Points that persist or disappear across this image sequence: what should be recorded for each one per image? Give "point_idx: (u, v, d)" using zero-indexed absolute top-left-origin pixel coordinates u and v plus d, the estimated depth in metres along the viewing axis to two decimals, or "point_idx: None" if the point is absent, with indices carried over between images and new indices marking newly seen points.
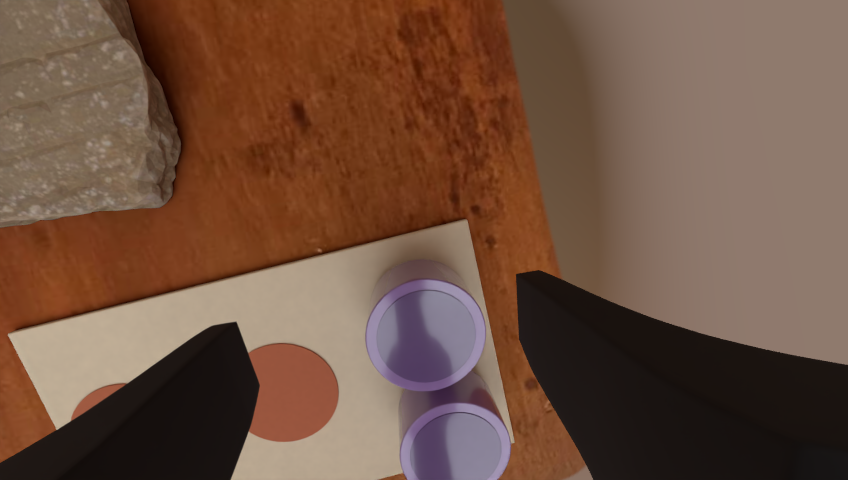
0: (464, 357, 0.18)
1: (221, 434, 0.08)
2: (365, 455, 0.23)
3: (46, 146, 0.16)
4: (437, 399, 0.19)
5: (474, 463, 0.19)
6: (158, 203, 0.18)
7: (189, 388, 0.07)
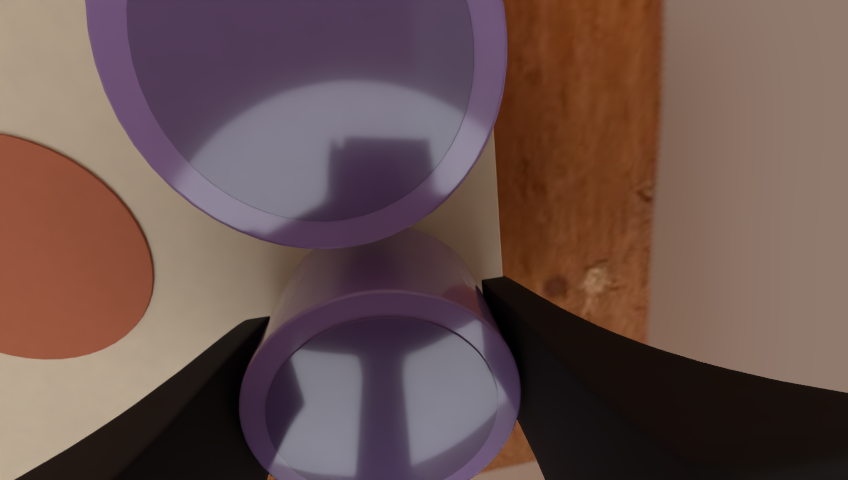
0: (430, 152, 0.06)
1: None
2: None
3: None
4: (347, 280, 0.07)
5: (428, 439, 0.08)
6: None
7: (232, 380, 0.07)
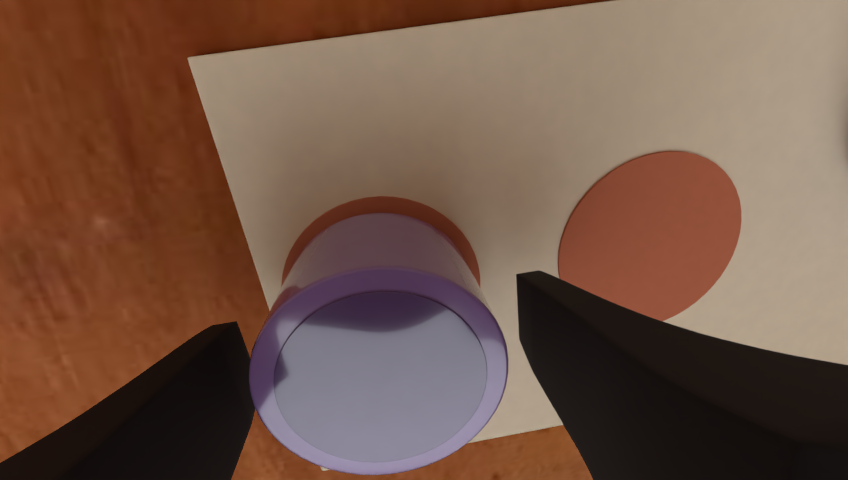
0: None
1: (221, 434, 0.08)
2: None
3: None
4: (348, 259, 0.08)
5: (423, 407, 0.08)
6: None
7: (189, 388, 0.07)
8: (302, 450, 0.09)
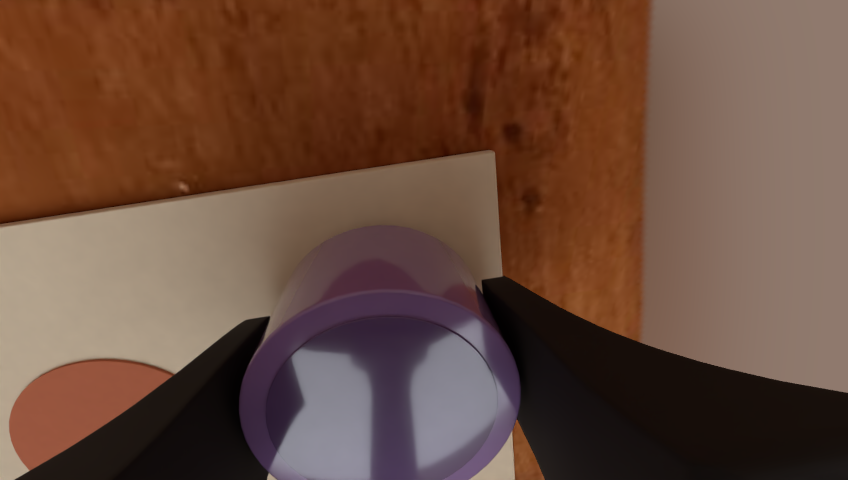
0: (466, 454, 0.08)
1: None
2: None
3: None
4: None
5: None
6: None
7: (232, 380, 0.07)
8: None
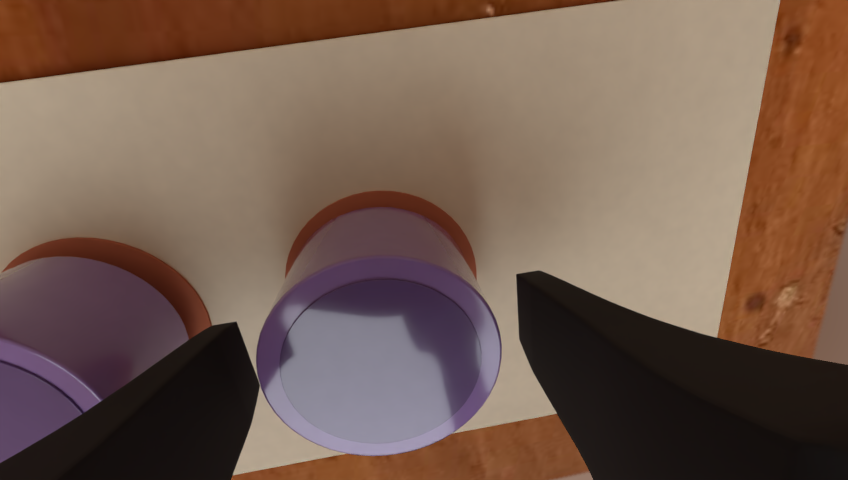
0: (453, 405, 0.09)
1: (221, 434, 0.08)
2: (493, 389, 0.15)
3: None
4: None
5: None
6: None
7: (189, 388, 0.07)
8: None
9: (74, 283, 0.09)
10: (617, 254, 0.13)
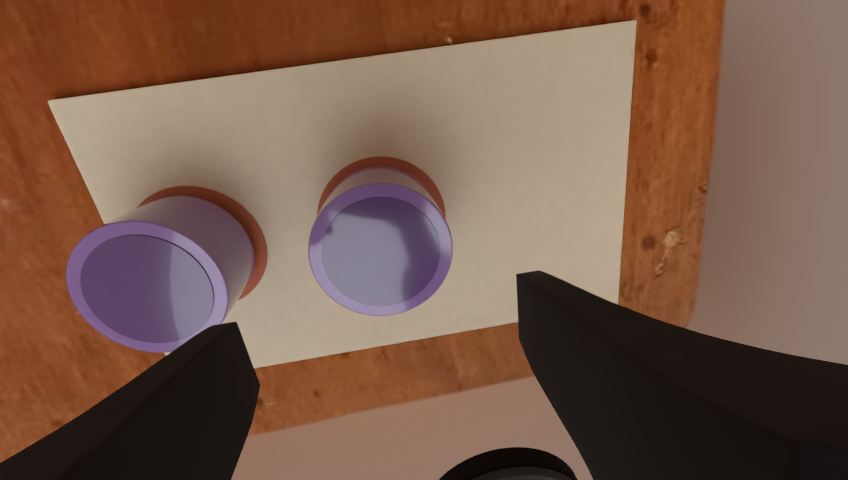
0: (424, 281, 0.15)
1: (221, 434, 0.08)
2: (460, 302, 0.21)
3: None
4: (121, 218, 0.14)
5: (177, 307, 0.14)
6: None
7: (189, 388, 0.07)
8: (108, 333, 0.15)
9: (193, 208, 0.15)
10: (542, 203, 0.19)
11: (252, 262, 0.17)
